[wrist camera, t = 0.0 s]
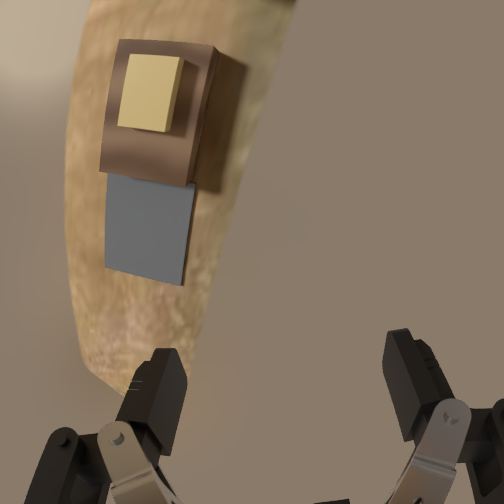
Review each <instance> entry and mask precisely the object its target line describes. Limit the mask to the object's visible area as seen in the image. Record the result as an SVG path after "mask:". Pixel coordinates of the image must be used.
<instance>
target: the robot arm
mask: <svg viewBox="0 0 504 504" xmlns="http://www.w3.org/2000/svg"><path fill="white" fill-rule="evenodd" d="M382 364H383V365H382V366H383V373H384V377H385V380H386V383H387V386H388V389H389V392H390V395H391V398H392V402H393V405H394V408H395V412H396V415H397V418H398V421H399V425H400V428H401V432H402V436H403V439H404V442H407V441H411V440H414V443H415V449H414V451H413V453H412V455H411V457H410V459H409V461H408V463H407V465H406V467H405V468H404V470H403V472H402V474H401V476H400V478H399V479H398V482H397V483H396V485H395V487H394V488H393V490H392V492H391V493H390V495H389V496H388V498H387V500H386V501H385V503H384V504H444V502H445V500H446V497H447V495H448V493H449V491H450V488H451V486H452V484H453V481H454V479H455V476H456V470H455V466H456V463H466V466H467V470H468V474H469V478H470V482H471V486H472V490H473V495H474V499H475V504H504V399H501V400H499V401H497V402H496V403H495V405H494V406H493V408H491V409H490V408H488V409H472V408H469V407H468V405H466V403H464V402H463V401H461V400H458V399H456V398H455V397H454V395H453V393H452V390H451V389H450V386H449V384H448V382H447V380H446V378H445V376H444V374H443V372H442V370H441V368H440V367H439V364H438V361H437V360H436V359H435V356H434V354H433V352H432V350H431V348H430V347H429V346H428V345H427V344H426V343H425V342H424V341H422V340H421V339H419V340H414V339H413V337H412V335H411V333H410V331H409V330H408V329H407V328H405V329H399V330H393V331H388V333H387V337H386V343H385V349H384V355H383V361H382ZM186 390H187V376H186V373H185V370H184V368H183V365H182V363H181V360H180V357H179V355H178V352H177V350H176V349H175V348H156V349H155V351H154V353H153V355H152V358H151V360H150V361H144V362H143V363H142V364H141V365H140V366H139V367H138V369H137V370H136V372H135V374H134V376H133V379H132V382H131V383H130V386H129V390H128V391H127V393H126V395H125V398H124V401H123V403H122V405H121V408H120V410H119V413H118V415H117V418H116V420H115V421H114V422H110V423H108V424H106V425H105V426H104V427H103V428H102V429H101V430H100V432H99V433H96V434H87V435H78V434H77V433H76V432H75V431H74V430H73V429H71V428H68V427H63V428H59V429H57V430H55V431H54V432H53V433H52V434H51V436H50V437H49V439H48V442H47V444H46V446H45V449H44V451H43V454H42V456H41V459H40V461H39V464H38V466H37V469H36V471H35V474H34V477H33V479H32V482H31V485H30V488H29V490H28V494H27V496H26V499H25V502H24V504H105V503H106V499H107V495H108V491H109V487H110V483H113V485H114V487H112V488H111V493H112V496H113V498H114V501H115V503H116V504H183V503H182V501H181V500H180V498H179V497H178V495H177V494H176V492H175V490H174V489H173V487H172V485H171V484H170V482H169V480H168V479H167V477H166V475H165V474H164V472H163V470H162V468H161V466H160V465H159V463H158V462H159V458H160V455H164V456H170V455H171V451H172V446H173V442H174V438H175V434H176V430H177V426H178V422H179V418H180V414H181V410H182V406H183V402H184V398H185V394H186ZM315 504H350V502H349V499H344V500H338V501H329V502H321V503H315Z"/></svg>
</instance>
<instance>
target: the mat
mask: <svg viewBox="0 0 504 504" xmlns="http://www.w3.org/2000/svg"><path fill="white" fill-rule="evenodd" d="M195 187H196V183H192V182H190V183H189V184H188V185H187V186H186V187H181V186H176V185H171V184H166V183H161V182H156V181H150V180H145V179H139V178H134V177H128V176H123V175H117V174H111V173H108V180H107V195H106V217H105V267H106V268H110V269H114V270H117V271H121V272H125V273H129V274H133V275H137V276H141V277H145V278H149V279H153V280H157V281H161V282H165V283H169V284H173V285H178V286H181V283H182V275H183V267H184V260H185V252H186V245H187V238H188V231H189V225H190V218H191V212H192V205H193V199H194V193H195Z"/></svg>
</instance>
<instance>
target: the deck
mask: <svg viewBox="0 0 504 504" xmlns="http://www.w3.org/2000/svg"><path fill="white" fill-rule="evenodd" d="M130 54H144V55H159V56H171V57H180V58H182V59H184V64H183V68H182V73H181V77H180V82H179V87H178V92H177V97H176V102H175V107H174V112H173V118H172V123H171V129H170V131H167V132H160V131H153V130H146V129H139V128H131V127H123V126H117V125H118V118H119V111H120V104H121V98H122V92H123V87H124V81H125V76H126V71H127V66H128V61H129V57H130ZM218 55H219V51H218V50H217V49H216V48H215V47H214V46H211V45H203V44H194V43H184V42H173V41H158V40H133V39H119V43H118V47H117V52H116V57H115V61H114V66H113V71H112V77H111V82H110V88H109V94H108V100H107V106H106V113H105V121H104V128H103V137H102V146H101V157H100V169H99V172H105V173H111V174H117V175H123V176H128V177H134V178H139V179H145V180H150V181H156V182H161V183H166V184H171V185H176V186H181V187H186V186H187V185H188V184H189V183H190V182H191V181H192V180H193V177H194V171H195V166H196V160H197V155H198V149H199V144H200V139H201V133H202V128H203V123H204V118H205V114H206V109H207V104H208V99H209V95H210V90H211V86H212V81H213V77H214V72H215V68H216V64H217V60H218Z"/></svg>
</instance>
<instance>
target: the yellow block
mask: <svg viewBox="0 0 504 504" xmlns="http://www.w3.org/2000/svg"><path fill="white" fill-rule="evenodd" d="M183 64H184V59H182V58H180V57H171V56H159V55H144V54H130V57H129V61H128V66H127V71H126V76H125V81H124V87H123V92H122V98H121V104H120V111H119V118H118V125H117V126H123V127H131V128H139V129H146V130H153V131H160V132H167V131H170V129H171V123H172V118H173V112H174V107H175V102H176V97H177V92H178V87H179V82H180V77H181V73H182V68H183Z"/></svg>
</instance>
